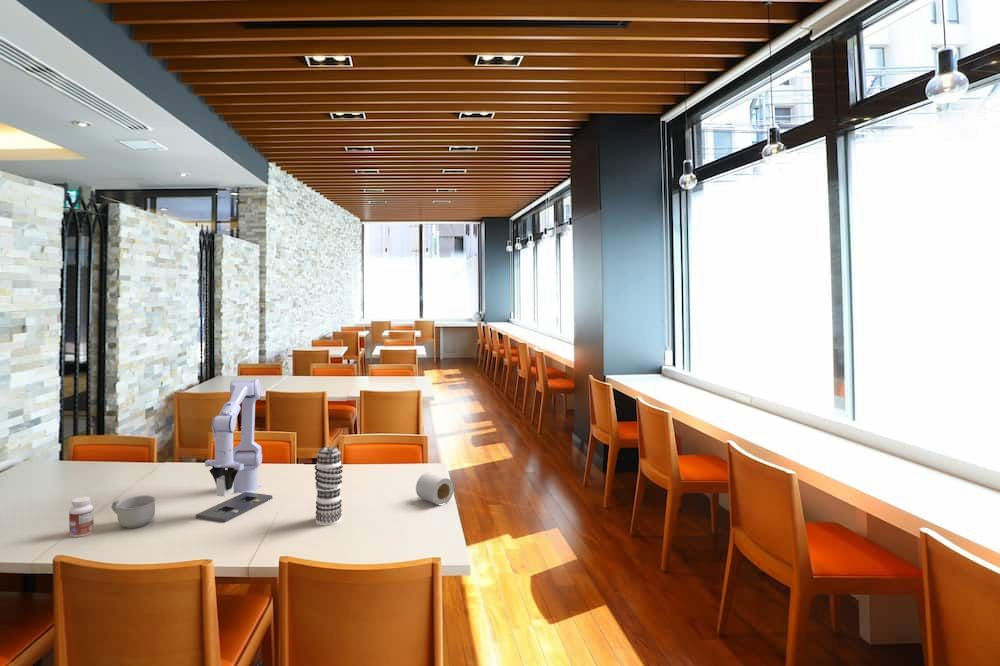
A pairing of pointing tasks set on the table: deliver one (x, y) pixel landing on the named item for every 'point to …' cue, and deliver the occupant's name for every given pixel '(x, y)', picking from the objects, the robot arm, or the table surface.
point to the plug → (223, 487)
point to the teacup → (135, 510)
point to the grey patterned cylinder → (328, 486)
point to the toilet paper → (434, 488)
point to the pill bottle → (81, 517)
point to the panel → (234, 507)
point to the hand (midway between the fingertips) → (224, 488)
